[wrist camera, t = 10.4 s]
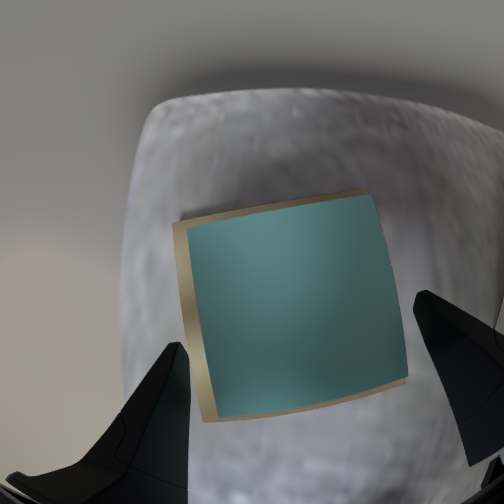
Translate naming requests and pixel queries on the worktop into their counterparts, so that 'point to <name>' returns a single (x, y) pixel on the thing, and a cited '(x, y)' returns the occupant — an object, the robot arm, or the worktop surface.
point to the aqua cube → (297, 306)
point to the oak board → (192, 316)
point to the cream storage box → (500, 320)
